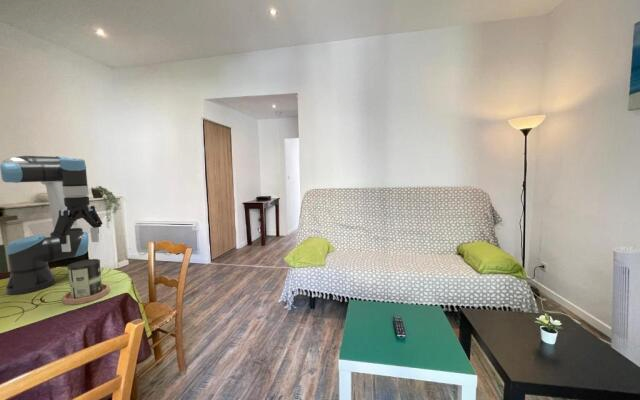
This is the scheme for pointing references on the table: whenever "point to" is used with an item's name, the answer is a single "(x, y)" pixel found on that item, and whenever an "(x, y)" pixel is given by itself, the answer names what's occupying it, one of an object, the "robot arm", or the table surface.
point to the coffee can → (85, 278)
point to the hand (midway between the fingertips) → (81, 246)
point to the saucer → (69, 301)
